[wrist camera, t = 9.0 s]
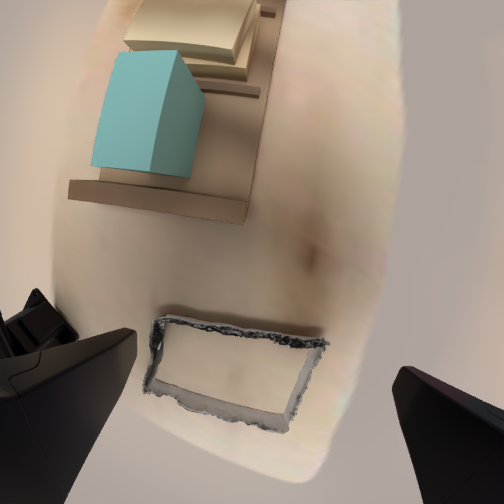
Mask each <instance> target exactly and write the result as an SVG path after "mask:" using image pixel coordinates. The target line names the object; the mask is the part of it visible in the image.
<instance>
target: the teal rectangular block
mask: <svg viewBox="0 0 504 504" xmlns="http://www.w3.org/2000/svg"><path fill="white" fill-rule="evenodd" d="M205 100H206V98H205V97H204V95H203V93H202V91H201V90H200V88H199V86H198V84H197V83H196V81H195V79H194V77H193V76H192V74H191V72H190V71H189V69H188V67H187V65H186V64H185V62H184V60H183V59H182V57H181V55H180V54H179V52H178V50H155V51H134V52H121V53H118V56H117V59H116V62H115V65H114V68H113V71H112V74H111V78H110V81H109V85H108V88H107V92H106V95H105V99H104V103H103V107H102V111H101V115H100V120H99V124H98V129H97V134H96V139H95V144H94V149H93V155H92V161H91V166H96V167H105V168H113V169H121V170H128V171H136V172H143V173H150V174H159V175H167V176H175V177H183V178H190V176H191V170H192V165H193V159H194V154H195V148H196V143H197V138H198V133H199V128H200V123H201V118H202V114H203V109H204V105H205Z"/></svg>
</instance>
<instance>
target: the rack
mask: <svg viewBox="0 0 504 504" xmlns="http://www.w3.org/2000/svg"><path fill="white" fill-rule="evenodd" d="M285 2H286V0H256V4H260V25H259V29H258V33H257V38H256V42H255V47H254V51H253V56H252V60H251V65H250V70H249V75H248V79H247V82H242V81H234V80H225V79H214V78H201V77H194V79H195V81H196V83H197V84H198V86H199V88H200V90H201V91H202V93H203V95H204V97H205V98H206V100H205V105H204V109H203V114H202V118H201V123H200V128H199V133H198V138H197V143H196V148H195V154H194V159H193V165H192V170H191V176H190V178H183V177H175V176H167V175H159V174H150V173H143V172H136V171H128V170H121V169H113V168H105V167H101V171H100V178H99V180H70V182H69V191H68V199H71V200H79V201H87V202H94V203H102V204H109V205H116V206H123V207H130V208H137V209H144V210H151V211H158V212H164V213H171V214H177V215H184V216H190V217H196V218H203V219H209V220H215V221H221V222H227V223H233V224H239V225H243V223H244V221H245V218H246V215H247V209H248V203H249V197H250V191H251V186H252V180H253V174H254V168H255V163H256V157H257V151H258V146H259V140H260V135H261V129H262V124H263V118H264V113H265V107H266V102H267V96H268V91H269V85H270V80H271V75H272V69H273V64H274V59H275V54H276V48H277V43H278V38H279V33H280V28H281V22H282V17H283V12H284V7H285ZM129 51H130V50H129Z"/></svg>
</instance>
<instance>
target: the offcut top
mask: <svg viewBox="0 0 504 504" xmlns="http://www.w3.org/2000/svg"><path fill="white" fill-rule="evenodd" d="M255 12H256V0H144V1H143V3H142V4H141V6H140V8H139V10H138V11H137V13H136V15H135V17H134V19H133V21H132V23H131V25H130V26H129V28H128V30H127V32H126V34H125V37H124V39H123V41H124V42H125V43H126V44H127V45H128V46H129V47H130V48H131V49H132V50H133V51H155V50H178V52H179V54H180V55H181V57H184V58H192V59H200V60H206V61H213V62H219V63H224V64H230V65H235V64H236V61H237V58H238V55H239V53H240V50H241V47H242V45H243V42H244V40H245V37H246V34H247V32H248V29H249V27H250V24H251V22H252V19H253V17H254V15H255Z"/></svg>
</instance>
